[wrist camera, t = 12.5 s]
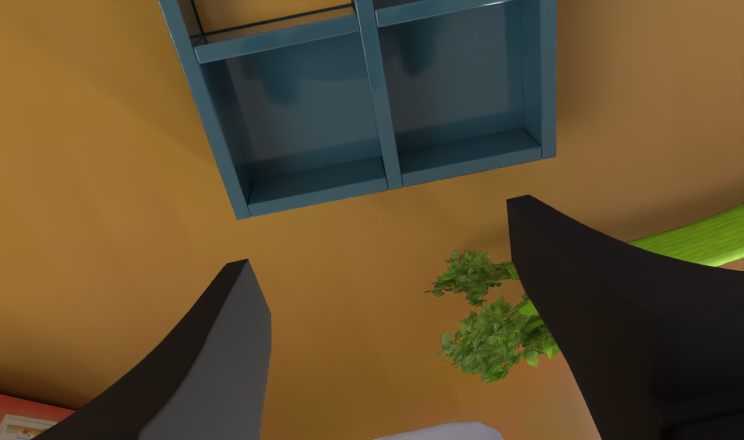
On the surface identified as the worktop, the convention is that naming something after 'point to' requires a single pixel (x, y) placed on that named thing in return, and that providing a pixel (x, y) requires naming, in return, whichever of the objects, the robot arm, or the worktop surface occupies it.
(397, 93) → the teal compartment tray
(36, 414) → the cracker box
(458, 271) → the celery
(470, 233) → the worktop surface
